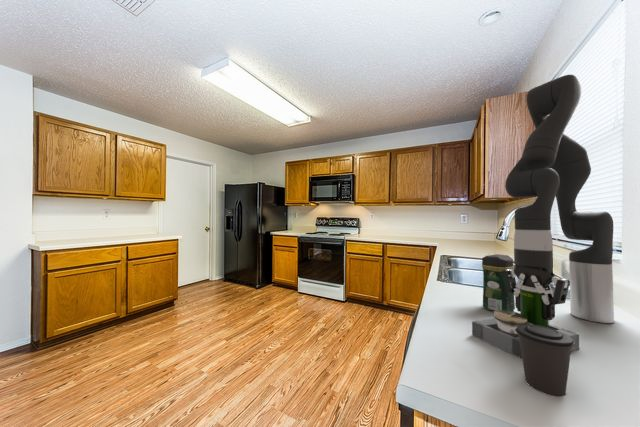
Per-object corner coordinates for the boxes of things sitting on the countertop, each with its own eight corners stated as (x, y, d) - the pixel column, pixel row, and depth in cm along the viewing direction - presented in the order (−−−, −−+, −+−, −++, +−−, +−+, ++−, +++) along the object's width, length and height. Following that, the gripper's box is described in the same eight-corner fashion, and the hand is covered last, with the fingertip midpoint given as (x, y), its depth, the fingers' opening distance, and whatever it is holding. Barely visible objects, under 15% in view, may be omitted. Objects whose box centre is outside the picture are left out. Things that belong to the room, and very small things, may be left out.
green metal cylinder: (544, 341, 59) (543, 289, 59) (517, 332, 64) (516, 284, 64) (552, 335, 62) (550, 286, 62) (525, 327, 66) (524, 282, 67)
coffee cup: (505, 371, 49) (504, 319, 49) (548, 373, 48) (546, 320, 49) (540, 401, 41) (539, 338, 41) (592, 403, 40) (590, 340, 41)
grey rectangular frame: (519, 327, 70) (519, 314, 70) (579, 349, 58) (578, 334, 58) (472, 334, 65) (472, 321, 65) (527, 361, 53) (526, 344, 53)
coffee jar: (492, 303, 91) (491, 252, 91) (518, 310, 84) (517, 255, 85) (478, 308, 86) (477, 253, 86) (505, 315, 79) (504, 256, 80)
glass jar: (506, 336, 64) (506, 309, 64) (534, 348, 58) (534, 318, 58) (488, 339, 62) (487, 311, 62) (515, 352, 56) (514, 321, 56)
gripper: (578, 250, 58) (580, 324, 57) (513, 245, 72) (514, 305, 71) (557, 251, 56) (559, 328, 55) (494, 245, 69) (495, 307, 69)
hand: (534, 314), depth 63 cm, fingers closed on green metal cylinder, 5 cm apart
